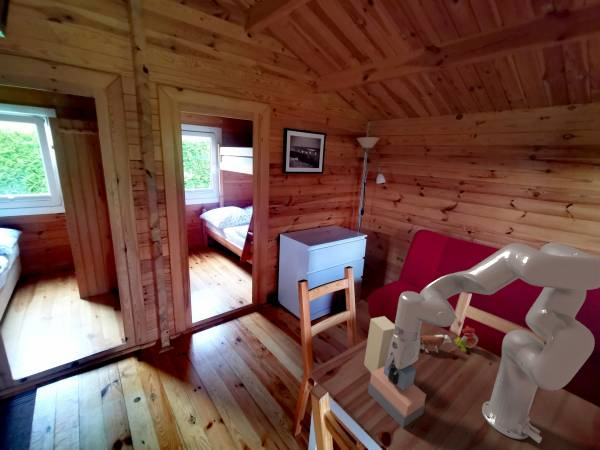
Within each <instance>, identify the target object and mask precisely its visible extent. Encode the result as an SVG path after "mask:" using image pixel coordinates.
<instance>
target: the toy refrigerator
mask: <svg viewBox="0 0 600 450" xmlns="http://www.w3.org/2000/svg"><path fill="white" fill-rule="evenodd" d="M394 327H395V323H393V322H392V321H391V320H389V319H388V318H387V317H386V316H385V315H383V316H379V317H378V316H377V317H373V318H370V322H369V329H368V333H367V334H368V337H367V343H366V349H365V354H364V355H365V356H364V363H363V365H364V366H365V368H366V369H367V370H368V372H369V373H370V374H371V373H372V372H374V371H376V370H378V369H380V368H382V367H384V366H385V361H386V358H388V352H389V347H390V343H391V340H392V337H393V334H394Z"/></svg>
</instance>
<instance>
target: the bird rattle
mask: <svg viewBox="0 0 600 450" xmlns="http://www.w3.org/2000/svg"><path fill="white" fill-rule="evenodd" d="M475 330H476V329H475V328H474V327H473V328H472V327H470V326H469V325H466V326H465V328H463V329H462V333H463V334H464V335H463V336H462V337H461V338H460V337H459V336H457V338H455V339H454V340H453V342H454V343H455V344H456V347H461V348H460V350H461V351H462V352H463V353H464V352H465V353H467V348H469V349H472V348H473V347H475V346H476V345H477V344H478V342H479V338H478V336H477V335H476V333H475Z"/></svg>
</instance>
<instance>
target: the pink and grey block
mask: <svg viewBox="0 0 600 450" xmlns="http://www.w3.org/2000/svg"><path fill="white" fill-rule="evenodd" d="M384 367H385V366H384ZM384 367H382V368H380V369H378V370H376V371H374V372H372V373H370V381H369V382H368V386H367V387H368V388H367V393H368V394H369V395H370V396H371V397H372V398H373V399H374V400H375V401H376V402H377V403H378V405H380V406H381V408H382V409H383V410H385V412H386V413H387V414H388V415H389V416H390V417H391V418H392V419H393V420H394V421H395V422H396V423H397V424H398V425H399V426H400V427H401V428H402V429H403V428H405V427H406V426H408V425H410V423H412V422H414V421H415V420H417V419H418V418H420V417H421V416H422V415H423V414H424V410H425V405H426V404H425V401H426V397H427V394H426V393H425V392H423V390H421V389H420V388H419V387H418V386H416V385H415V384H414V383H413V385H412V386H410V387H409V388H407V389H405V390H402V389H400V388H399V387H398V386H397V385H395V384H394V383H393V382H392V381H390V380H389V379H388V377H387V376H386V375H385V374H384Z"/></svg>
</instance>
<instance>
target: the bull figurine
mask: <svg viewBox="0 0 600 450" xmlns="http://www.w3.org/2000/svg"><path fill="white" fill-rule="evenodd" d="M452 342H453V341H452V339H451V338H450V336H449V335H448V334H447V333H445V334H444V335H443V334H434V335H420V349H419V350H423V351H424V350H425V352H426V353H427V354H429V353H430V351H429V350H428V347H435V351H434V352H436V353H439V349H440V348H441V346H442V345H444V344H445V343H446V344H447V343H449V344H452Z"/></svg>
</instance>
